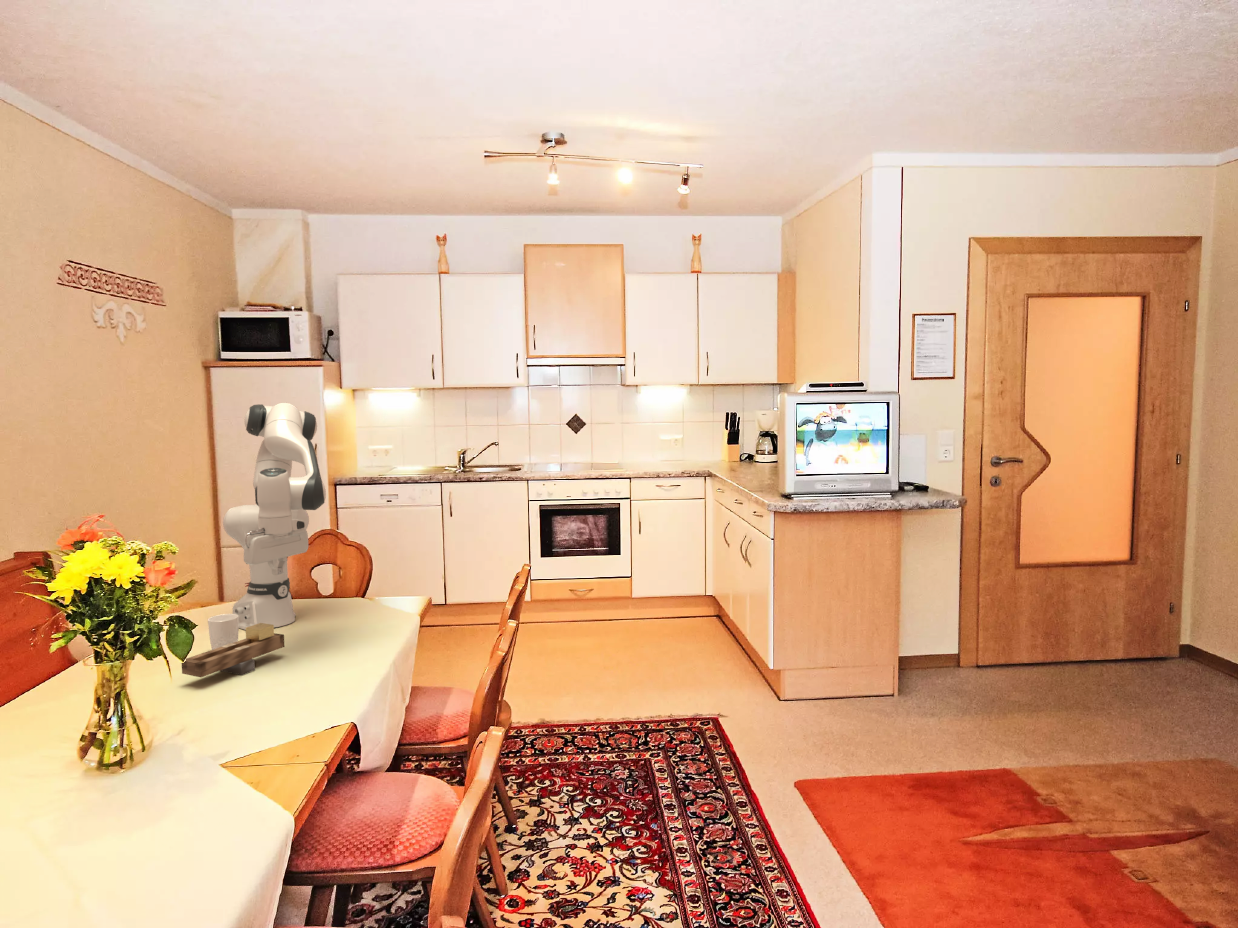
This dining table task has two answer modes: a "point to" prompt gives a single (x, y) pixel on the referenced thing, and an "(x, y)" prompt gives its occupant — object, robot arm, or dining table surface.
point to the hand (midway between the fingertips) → (278, 574)
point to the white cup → (223, 630)
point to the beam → (231, 657)
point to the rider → (259, 632)
